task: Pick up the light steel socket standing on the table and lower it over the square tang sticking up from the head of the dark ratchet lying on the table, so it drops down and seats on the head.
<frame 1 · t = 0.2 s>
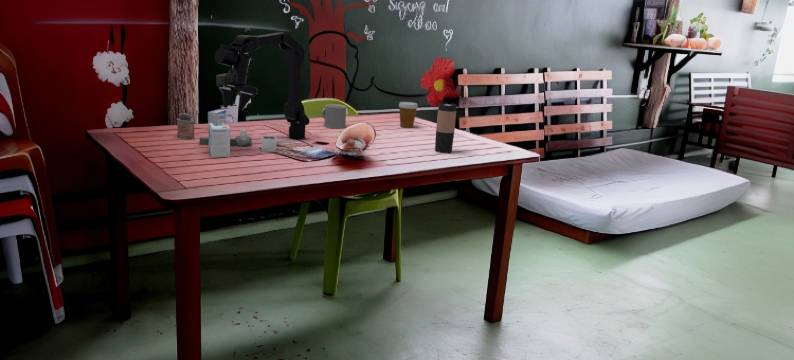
hand: (232, 109, 229), 15 cm above the table, tool pointing down, fingers open, 9 cm apart
light bulb box: (219, 154, 224), on the table
ratchet: (243, 145, 240), on the table
travel mug: (443, 151, 254), on the table
disposable coffee cup: (406, 127, 300), on the table
coffee mug: (332, 126, 289), on the table
socket: (268, 150, 234), on the table
medicine box: (217, 131, 262), on the table
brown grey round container: (185, 138, 244), on the table
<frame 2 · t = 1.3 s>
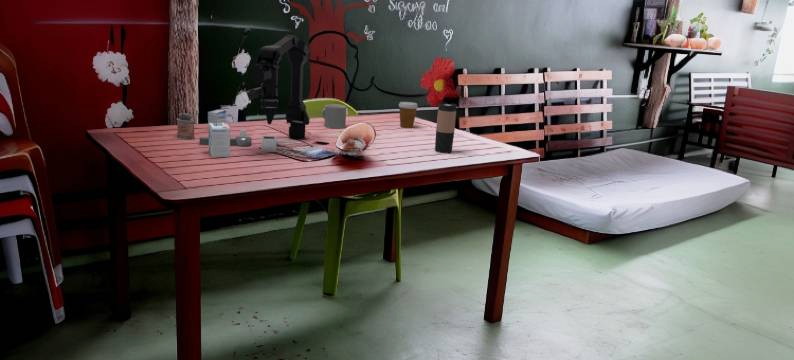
hand: (269, 122, 231), 11 cm above the table, tool pointing down, fingers open, 9 cm apart
nothing on the table moved.
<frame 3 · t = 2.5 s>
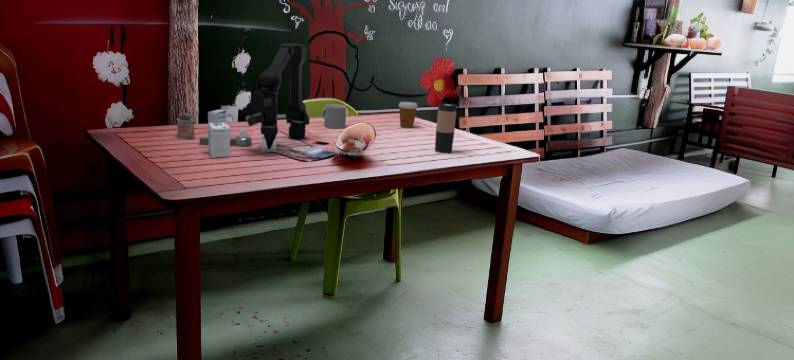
hand: (268, 147, 234), 1 cm above the table, tool pointing down, fingers closed on socket, 6 cm apart
socket: (268, 150, 234), on the table, touching gripper
everything else where it was.
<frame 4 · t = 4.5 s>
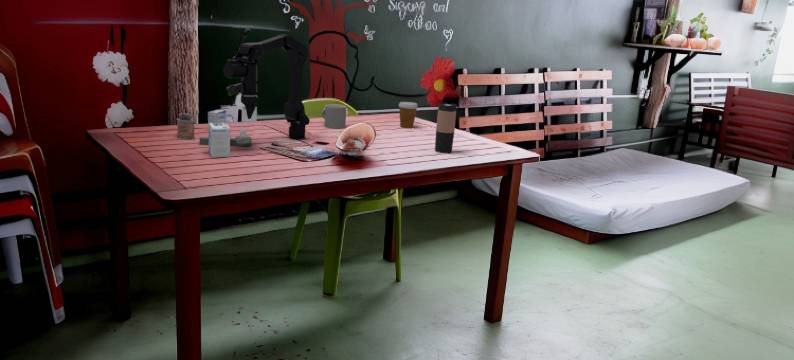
hand: (249, 117, 235), 12 cm above the table, tool pointing down, fingers closed on socket, 6 cm apart
socket: (249, 120, 235), point 10 cm above the table, touching gripper
everything else where it was.
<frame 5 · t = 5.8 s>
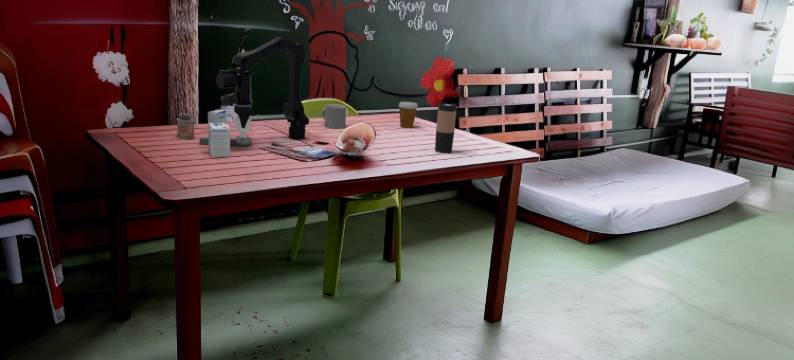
hand: (243, 126, 238), 7 cm above the table, tool pointing down, fingers closed on socket, 6 cm apart
socket: (243, 129, 238), point 6 cm above the table, touching gripper
everything else where it was.
when the fingers open (5 cm above the table, at t = 6.6 s): socket drops 1 cm, resting on ratchet.
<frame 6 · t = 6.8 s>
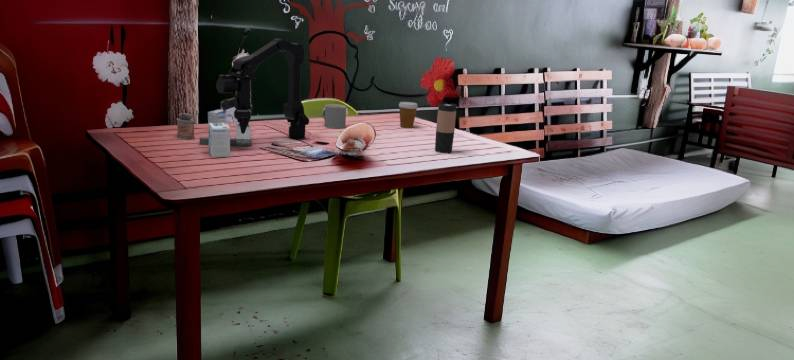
hand: (243, 131, 238), 5 cm above the table, tool pointing down, fingers open, 8 cm apart
ratchet: (243, 145, 240), on the table, touching socket
socket: (243, 137, 239), point 3 cm above the table, touching ratchet
everything else where it was.
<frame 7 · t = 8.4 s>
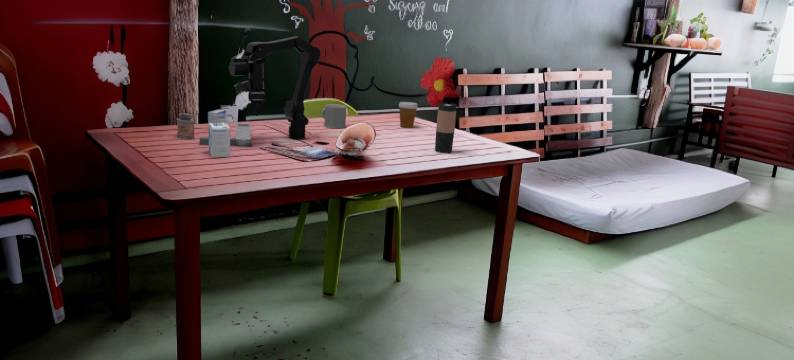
hand: (257, 113, 244), 11 cm above the table, tool pointing down, fingers open, 9 cm apart
nothing on the table moved.
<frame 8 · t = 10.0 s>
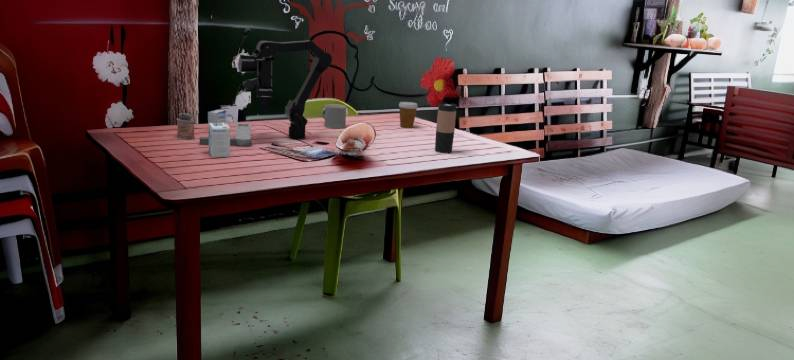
hand: (264, 110, 249), 12 cm above the table, tool pointing down, fingers open, 9 cm apart
nothing on the table moved.
at the end: socket 0.0 cm off-centre on the ratchet, point 3.0 cm above the ratchet's base; the gripper is holding nothing; socket tilted 0° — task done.
